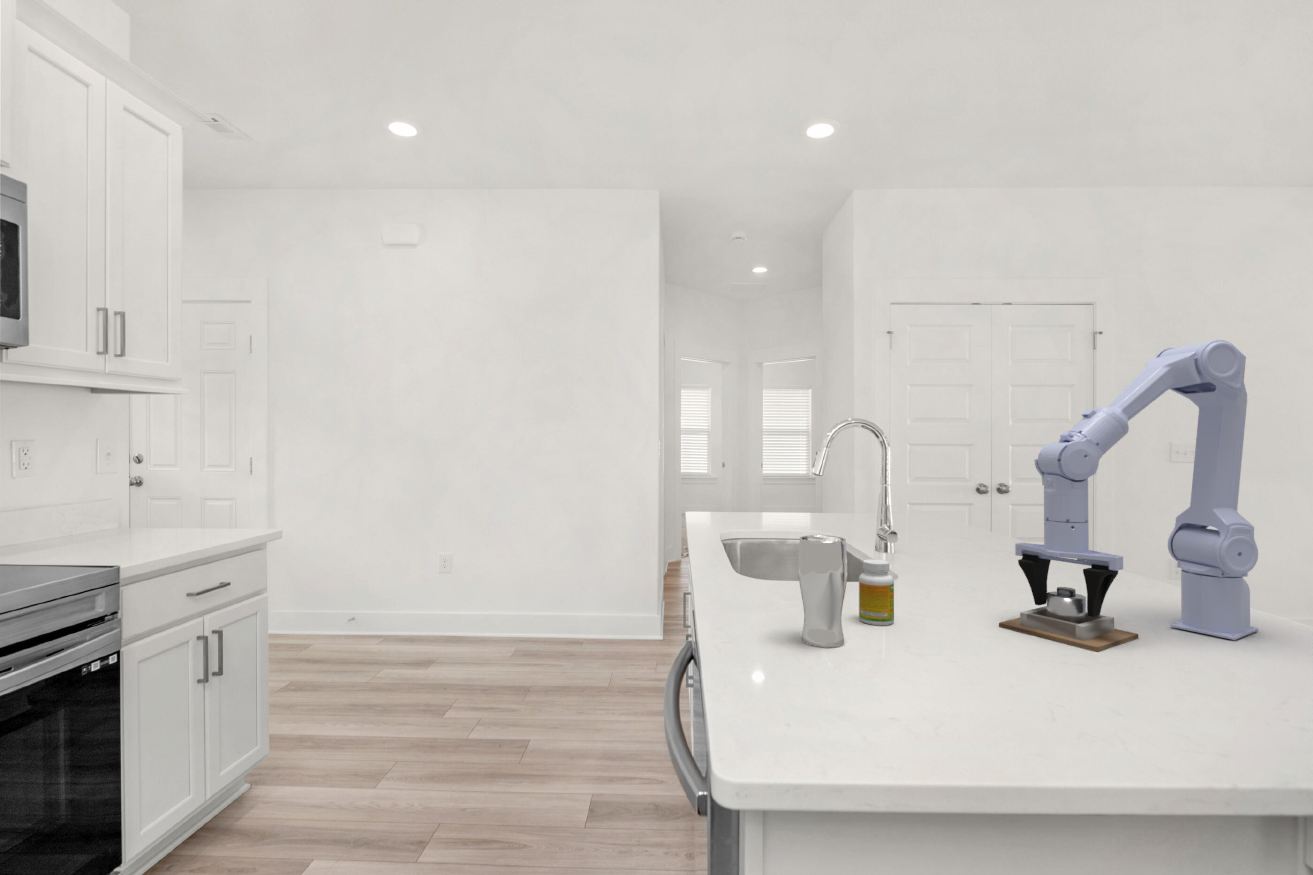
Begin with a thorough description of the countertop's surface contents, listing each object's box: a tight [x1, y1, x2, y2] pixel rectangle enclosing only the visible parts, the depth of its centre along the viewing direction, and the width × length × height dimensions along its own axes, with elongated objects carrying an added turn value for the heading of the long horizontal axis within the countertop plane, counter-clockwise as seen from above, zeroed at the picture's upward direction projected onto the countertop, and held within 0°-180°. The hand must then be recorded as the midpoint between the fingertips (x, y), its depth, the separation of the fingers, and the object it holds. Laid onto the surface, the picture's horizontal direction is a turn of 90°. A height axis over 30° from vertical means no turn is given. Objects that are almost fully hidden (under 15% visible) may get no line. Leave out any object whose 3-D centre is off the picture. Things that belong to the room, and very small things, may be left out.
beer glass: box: [797, 534, 848, 648], centre depth 93 cm, size 7×7×15 cm
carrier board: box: [998, 605, 1139, 652], centre depth 97 cm, size 12×14×3 cm
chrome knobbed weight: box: [1046, 586, 1087, 624], centre depth 97 cm, size 5×5×6 cm
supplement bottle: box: [858, 558, 895, 626], centre depth 104 cm, size 5×5×10 cm
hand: (1066, 609), depth 97 cm, fingers open, 7 cm apart
